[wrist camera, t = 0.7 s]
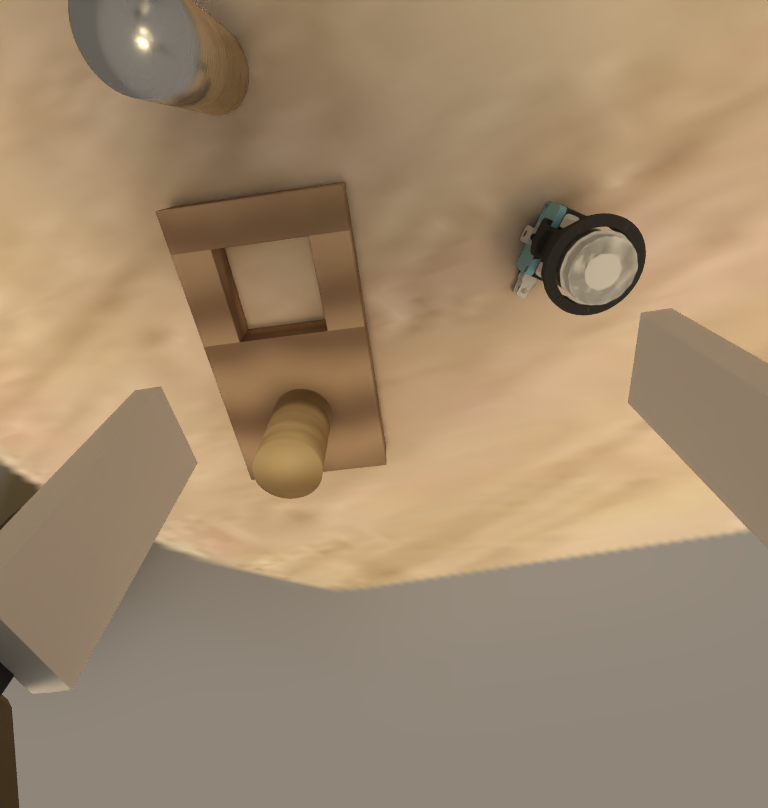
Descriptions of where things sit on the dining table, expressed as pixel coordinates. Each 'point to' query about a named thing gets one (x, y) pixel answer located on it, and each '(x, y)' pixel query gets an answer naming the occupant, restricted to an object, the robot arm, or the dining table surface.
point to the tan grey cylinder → (161, 52)
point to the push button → (581, 259)
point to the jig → (284, 338)
